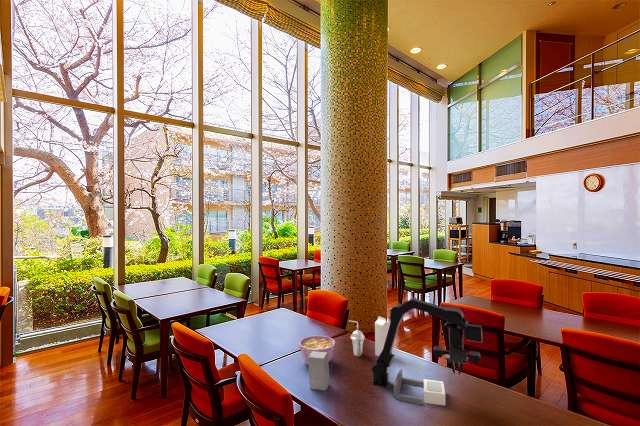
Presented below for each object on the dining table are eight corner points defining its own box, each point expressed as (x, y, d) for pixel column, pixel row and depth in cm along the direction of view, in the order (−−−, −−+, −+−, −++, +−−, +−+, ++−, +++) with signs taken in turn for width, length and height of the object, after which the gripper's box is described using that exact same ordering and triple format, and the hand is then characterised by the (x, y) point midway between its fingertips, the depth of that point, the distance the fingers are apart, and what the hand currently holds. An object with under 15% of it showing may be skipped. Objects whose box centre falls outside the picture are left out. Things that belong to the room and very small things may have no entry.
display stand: (393, 398, 143) (393, 385, 143) (400, 380, 158) (400, 368, 158) (421, 404, 138) (421, 390, 138) (426, 385, 153) (426, 373, 153)
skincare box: (329, 384, 156) (329, 351, 156) (325, 392, 149) (324, 358, 149) (313, 381, 159) (312, 349, 159) (308, 389, 152) (307, 355, 152)
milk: (383, 358, 183) (382, 319, 183) (375, 355, 188) (374, 317, 188) (390, 355, 186) (389, 317, 186) (382, 352, 191) (381, 315, 191)
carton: (424, 403, 140) (424, 391, 140) (423, 389, 151) (423, 378, 151) (445, 406, 138) (445, 394, 138) (443, 392, 148) (443, 381, 148)
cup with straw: (361, 358, 183) (361, 323, 183) (347, 355, 188) (346, 321, 188) (367, 352, 191) (366, 319, 191) (353, 349, 195) (352, 316, 195)
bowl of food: (293, 368, 173) (292, 346, 173) (308, 353, 192) (308, 333, 192) (328, 374, 166) (327, 352, 166) (340, 358, 184) (340, 337, 184)
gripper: (431, 341, 137) (432, 378, 137) (480, 348, 129) (481, 387, 129) (434, 332, 147) (434, 367, 147) (479, 338, 139) (480, 374, 139)
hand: (456, 374), depth 140 cm, fingers closed
